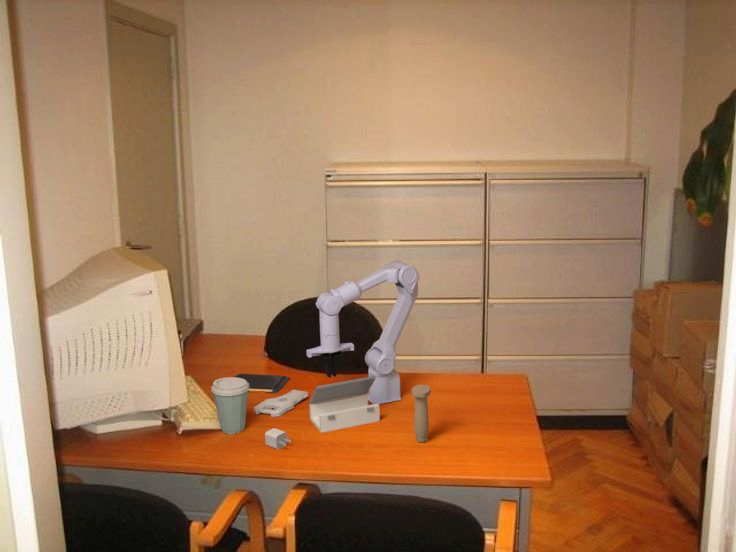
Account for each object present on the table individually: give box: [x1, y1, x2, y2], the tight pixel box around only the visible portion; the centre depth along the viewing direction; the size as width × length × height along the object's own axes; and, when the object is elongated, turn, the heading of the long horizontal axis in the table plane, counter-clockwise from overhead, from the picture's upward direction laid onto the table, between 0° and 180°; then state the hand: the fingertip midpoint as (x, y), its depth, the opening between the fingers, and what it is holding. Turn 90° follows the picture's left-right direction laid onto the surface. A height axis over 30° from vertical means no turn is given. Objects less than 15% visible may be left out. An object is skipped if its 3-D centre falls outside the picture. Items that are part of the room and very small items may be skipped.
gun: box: [253, 388, 309, 418], centre depth 221 cm, size 18×3×10 cm
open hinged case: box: [308, 393, 381, 434], centre depth 209 cm, size 18×11×5 cm, turn 113°
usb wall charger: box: [264, 427, 292, 450], centre depth 194 cm, size 4×7×4 cm, turn 51°
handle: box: [411, 384, 432, 444], centre depth 194 cm, size 5×6×15 cm
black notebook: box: [234, 373, 291, 394], centre depth 241 cm, size 20×2×15 cm
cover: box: [308, 376, 376, 404], centre depth 209 cm, size 18×10×1 cm
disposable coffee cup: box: [211, 376, 250, 435], centre depth 204 cm, size 11×11×15 cm
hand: (331, 376), depth 216 cm, fingers closed
